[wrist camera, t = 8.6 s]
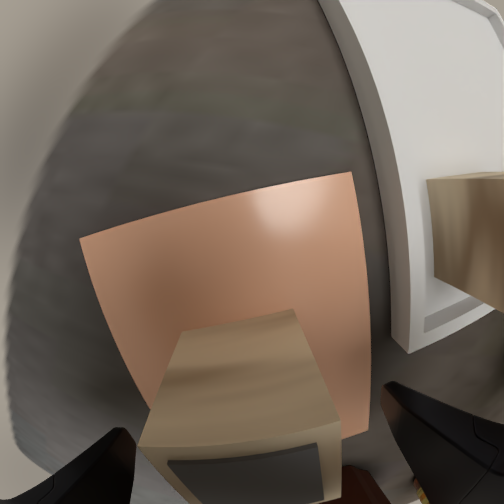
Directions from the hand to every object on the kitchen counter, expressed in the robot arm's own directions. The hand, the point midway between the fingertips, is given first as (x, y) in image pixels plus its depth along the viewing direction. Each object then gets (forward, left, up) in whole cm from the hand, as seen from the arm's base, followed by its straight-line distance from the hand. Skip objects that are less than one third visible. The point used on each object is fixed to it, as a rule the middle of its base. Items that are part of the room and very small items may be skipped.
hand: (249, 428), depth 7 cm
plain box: (+4, -12, -4) cm, 13 cm away
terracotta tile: (0, 0, -4) cm, 4 cm away
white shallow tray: (+9, -15, -4) cm, 18 cm away
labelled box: (0, 0, -4) cm, 4 cm away
